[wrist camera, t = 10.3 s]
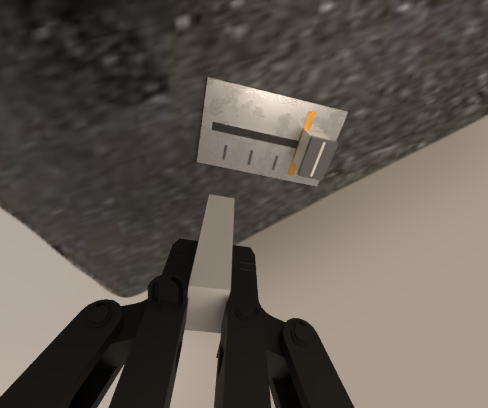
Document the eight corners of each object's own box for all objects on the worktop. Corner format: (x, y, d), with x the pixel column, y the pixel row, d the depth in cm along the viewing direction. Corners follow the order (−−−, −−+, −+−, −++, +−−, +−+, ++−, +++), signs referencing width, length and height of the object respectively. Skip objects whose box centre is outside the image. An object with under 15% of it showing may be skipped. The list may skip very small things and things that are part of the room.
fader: (303, 127, 34) (312, 137, 30) (325, 132, 35) (338, 142, 30) (291, 162, 37) (298, 176, 32) (312, 166, 37) (321, 180, 33)
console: (209, 76, 33) (205, 78, 29) (344, 110, 35) (355, 115, 32) (198, 158, 39) (194, 167, 35) (314, 182, 41) (321, 193, 38)
